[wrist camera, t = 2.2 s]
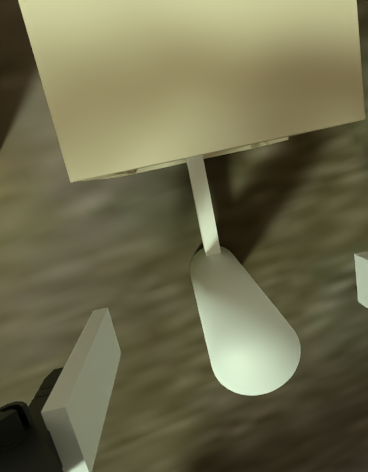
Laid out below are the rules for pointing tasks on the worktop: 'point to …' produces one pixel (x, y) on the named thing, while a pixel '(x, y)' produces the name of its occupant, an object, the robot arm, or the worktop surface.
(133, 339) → the worktop surface
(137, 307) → the worktop surface
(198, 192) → the tethered block
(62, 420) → the robot arm
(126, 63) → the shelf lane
